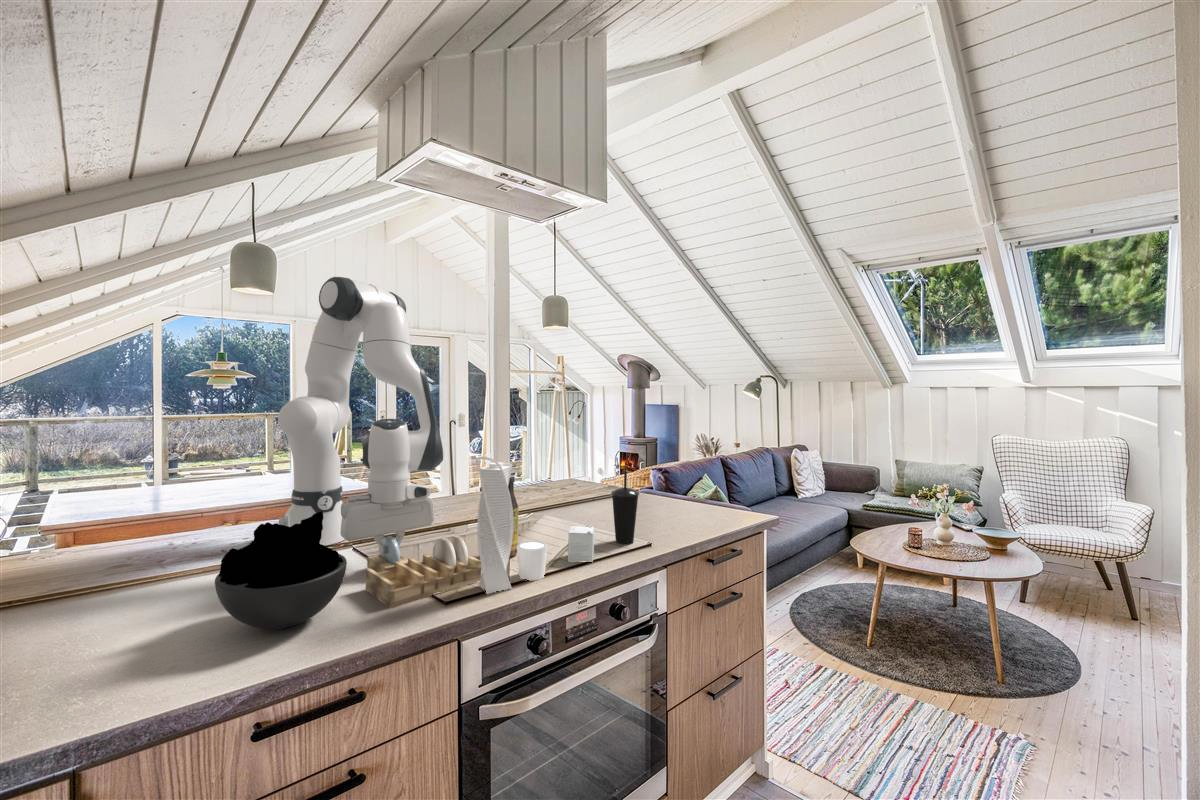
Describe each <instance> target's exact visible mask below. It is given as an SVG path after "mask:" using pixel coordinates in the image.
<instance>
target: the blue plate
mask: <svg viewBox="0 0 1200 800" xmlns="http://www.w3.org/2000/svg"><path fill="white" fill-rule="evenodd" d="M395 538H396V537H394V536H392V535H390V536H384V539H383V540H381V541H382V542H383V544H386V545H388V553H386V554H380V553H379V554H380V557H381V558H382V559H384V560H386V561H387V562H389V563H391V564H392V565H395V562H396V561H399V562H400V556H401V549H400V550H399V546H398V543H397V541H396V540H395Z"/></svg>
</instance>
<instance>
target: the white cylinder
mask: <svg viewBox="0 0 1200 800" xmlns="http://www.w3.org/2000/svg"><path fill="white" fill-rule="evenodd" d="M547 553H548V544H547V543H546V542H544V541H538V540H537V541H536V540H533V541H532V540H529V541H523V542H520V543H518V545H517V554H516V555H517V564H518V565H517V566H518V576H520V577H521V578H523V579H527V580H529V581H528V582H530V581H539V580H542V579H544V578H545V576H544V575H546V564H547V556H548V554H547ZM520 577H519V578H520ZM521 578H520V579H521ZM523 579H522V580H523ZM527 580H526V581H527Z"/></svg>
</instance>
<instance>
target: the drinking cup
mask: <svg viewBox="0 0 1200 800" xmlns="http://www.w3.org/2000/svg"><path fill="white" fill-rule="evenodd" d="M627 473H628V469H627V468H624V470H623V476H624V477H623V482H624V483H623V487H618V488H616V489H615V490H614V489H613V490H612V491H611V493H610V494H611V496H612V509H613V510H612V511H613V521H614V522H613V523H614V535H615V537H614V538H615V543H617V544H618V543H619V544H618V545H631V543H632V544H633V543H634V542H635V541H634V539H635V529H636V521H637V511H638V509H637V508H638V502H639V500H638V499H639V496H640V492H639V491H638V490H636V489H633V488H630V487H627V486H628V485H627V484H628V482H627V481H628V479H627V478H628V477H627V476H628V475H627Z"/></svg>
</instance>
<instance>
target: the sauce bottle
mask: <svg viewBox="0 0 1200 800" xmlns="http://www.w3.org/2000/svg"><path fill="white" fill-rule="evenodd" d="M515 480H516V479H515V476H514V475H513V474H511V476H510V480H509V485H508V489H509V492H510V496H511V501H512V507H513V520H514V525H513V539H512V546H511V552H510V556H509V558H511V557H515V556H516V555H517V545H518V544H519V505H518V502H517V498H516V496H515V489H514V487H515V485H514V484H515Z"/></svg>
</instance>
